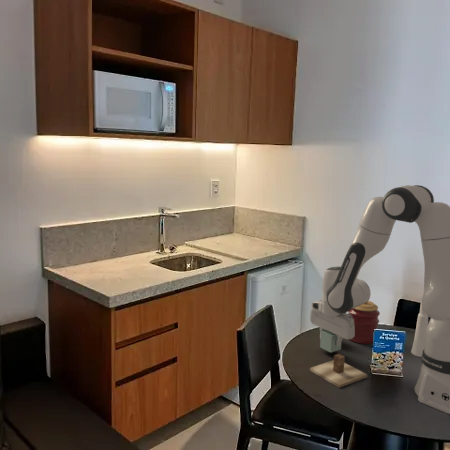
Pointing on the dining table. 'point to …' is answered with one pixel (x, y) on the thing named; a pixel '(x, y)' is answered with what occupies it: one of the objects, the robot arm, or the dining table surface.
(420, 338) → the cosmetic bottle
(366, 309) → the canister
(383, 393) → the dining table surface
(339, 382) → the post board
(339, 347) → the pale green cube
